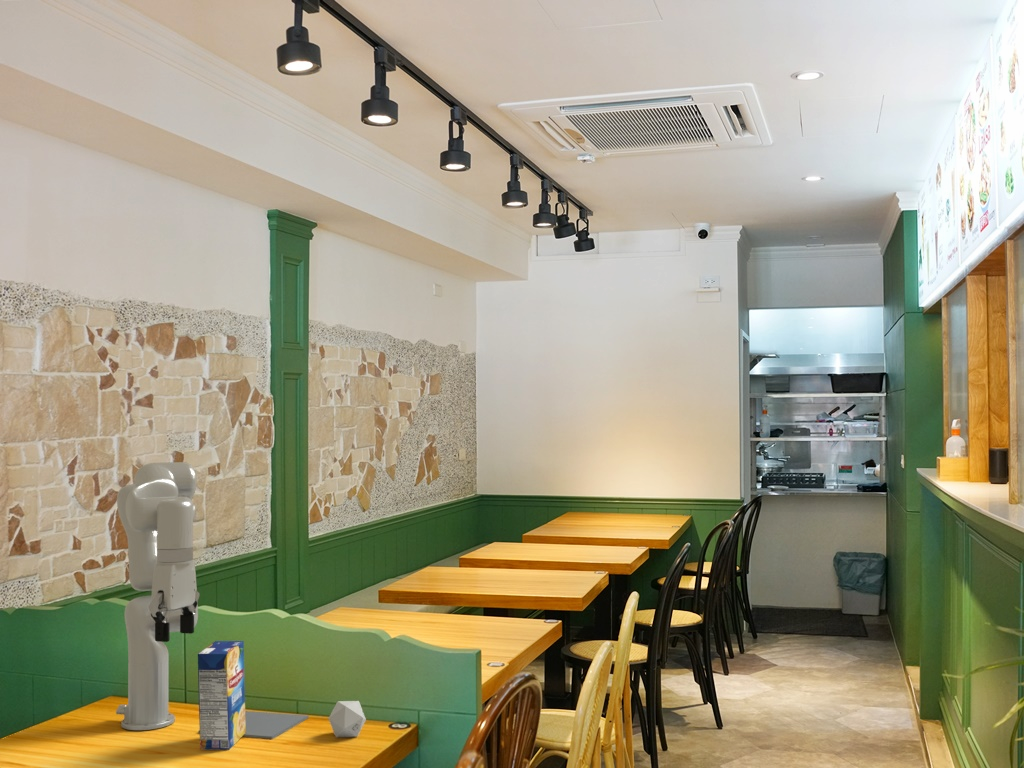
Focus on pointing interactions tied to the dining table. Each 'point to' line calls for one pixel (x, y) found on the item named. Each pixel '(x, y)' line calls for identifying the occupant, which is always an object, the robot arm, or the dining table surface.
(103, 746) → the dining table surface
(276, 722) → the mat
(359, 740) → the dining table surface
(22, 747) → the dining table surface
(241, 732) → the beverage box
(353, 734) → the die
